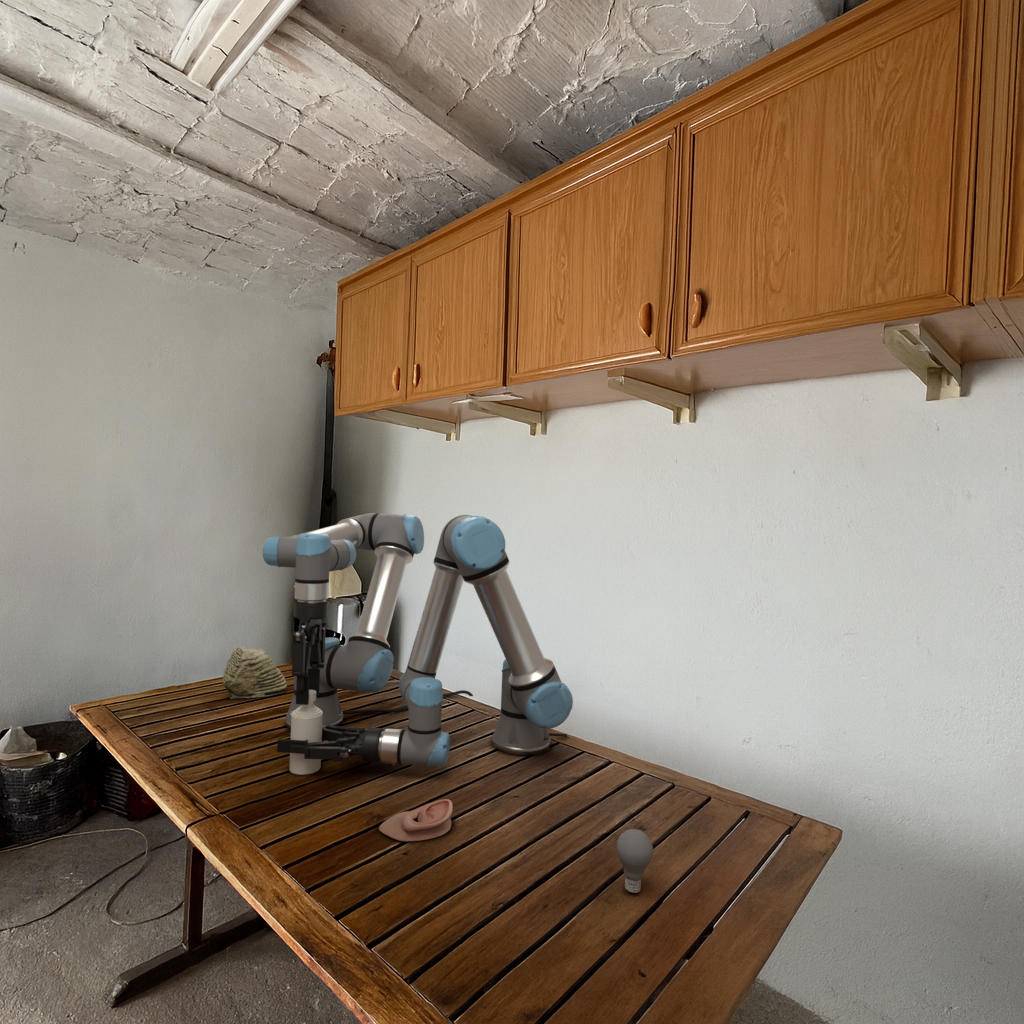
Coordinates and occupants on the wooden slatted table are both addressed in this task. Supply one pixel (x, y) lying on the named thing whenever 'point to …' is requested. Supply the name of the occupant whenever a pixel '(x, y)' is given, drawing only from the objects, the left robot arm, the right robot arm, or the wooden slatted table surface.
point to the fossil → (252, 674)
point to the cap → (312, 695)
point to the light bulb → (634, 857)
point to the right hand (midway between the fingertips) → (285, 739)
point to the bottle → (305, 737)
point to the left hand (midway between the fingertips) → (307, 699)
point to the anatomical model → (420, 822)
